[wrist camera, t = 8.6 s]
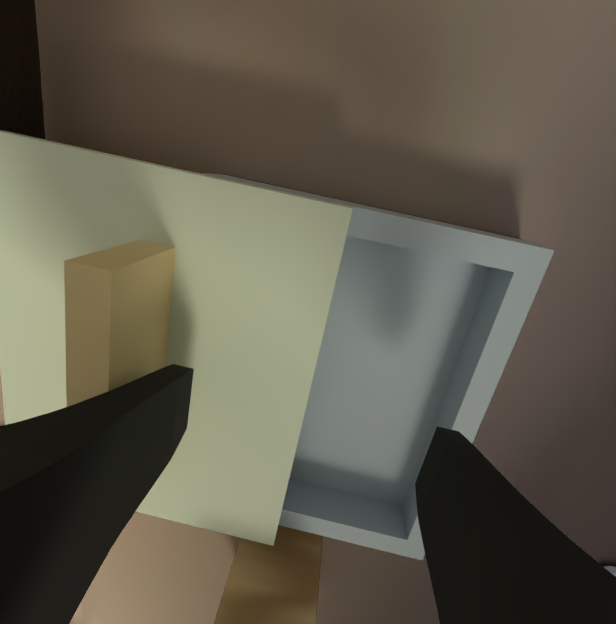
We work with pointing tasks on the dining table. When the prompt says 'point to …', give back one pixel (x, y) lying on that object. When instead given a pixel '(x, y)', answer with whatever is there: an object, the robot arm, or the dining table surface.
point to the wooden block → (273, 581)
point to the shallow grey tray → (402, 366)
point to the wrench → (20, 70)
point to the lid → (168, 312)
